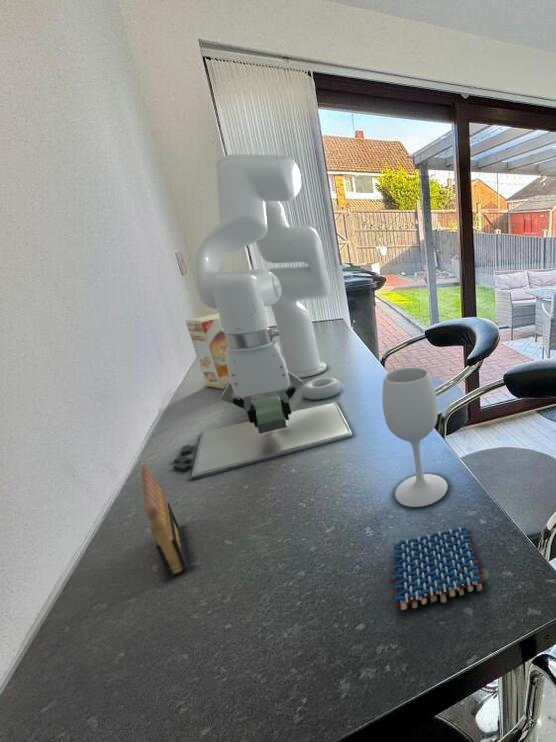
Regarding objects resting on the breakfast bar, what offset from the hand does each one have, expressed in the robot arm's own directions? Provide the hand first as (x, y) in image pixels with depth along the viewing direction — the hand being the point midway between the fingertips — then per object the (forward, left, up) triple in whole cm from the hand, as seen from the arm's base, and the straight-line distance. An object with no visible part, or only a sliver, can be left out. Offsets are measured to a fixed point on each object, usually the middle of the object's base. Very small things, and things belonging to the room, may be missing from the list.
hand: (272, 420), depth 85 cm
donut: (-19, +12, -4) cm, 23 cm away
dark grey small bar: (-3, -16, -3) cm, 17 cm away
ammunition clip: (+30, -14, -4) cm, 33 cm away
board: (0, 0, -4) cm, 4 cm away
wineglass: (+36, +20, -4) cm, 41 cm away
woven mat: (+53, +16, -4) cm, 55 cm away
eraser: (0, 0, 0) cm, 0 cm away
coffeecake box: (-47, -8, -4) cm, 48 cm away
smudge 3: (+4, -16, -4) cm, 17 cm away
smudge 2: (+1, -16, -4) cm, 17 cm away
